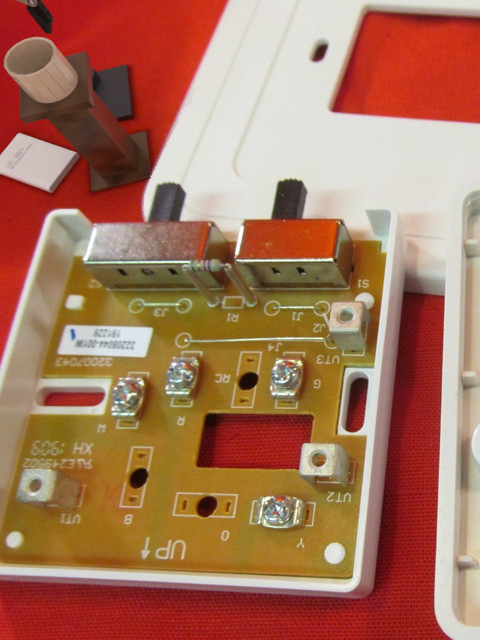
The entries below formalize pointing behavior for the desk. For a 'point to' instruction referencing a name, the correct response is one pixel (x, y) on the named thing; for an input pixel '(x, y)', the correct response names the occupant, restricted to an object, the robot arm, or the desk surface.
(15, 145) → the hard drive
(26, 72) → the cup
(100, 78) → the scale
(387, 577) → the desk surface
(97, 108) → the stand
